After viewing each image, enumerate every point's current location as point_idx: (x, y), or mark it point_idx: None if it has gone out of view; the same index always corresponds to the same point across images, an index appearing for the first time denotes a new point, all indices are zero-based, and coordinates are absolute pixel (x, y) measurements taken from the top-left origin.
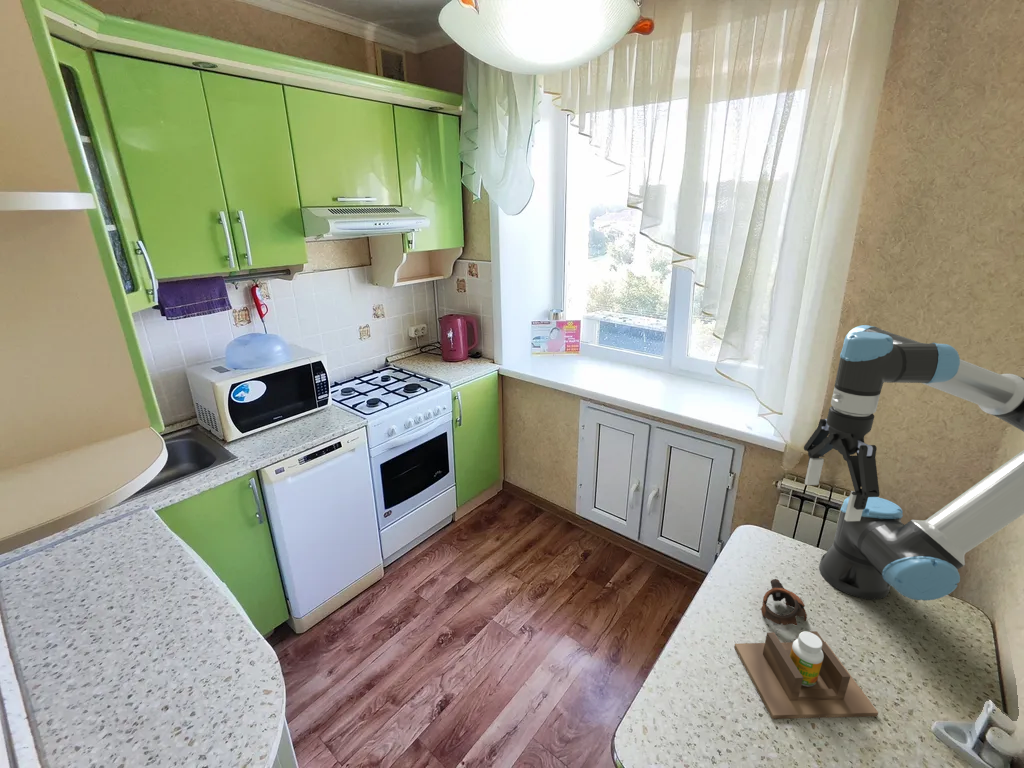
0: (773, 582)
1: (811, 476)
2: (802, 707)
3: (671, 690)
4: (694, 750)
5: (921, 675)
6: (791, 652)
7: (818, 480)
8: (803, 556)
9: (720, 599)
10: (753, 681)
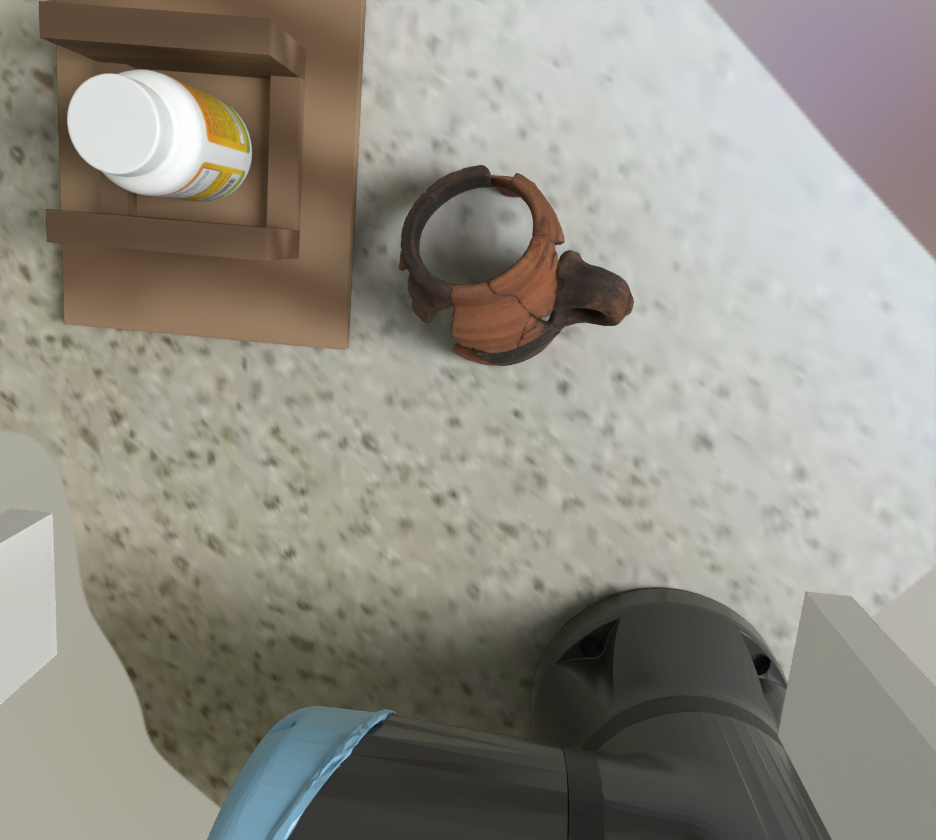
0: (599, 276)
1: (853, 708)
2: (81, 66)
3: None
4: None
5: (210, 580)
6: (176, 79)
7: (802, 768)
8: None
9: (632, 38)
10: None
